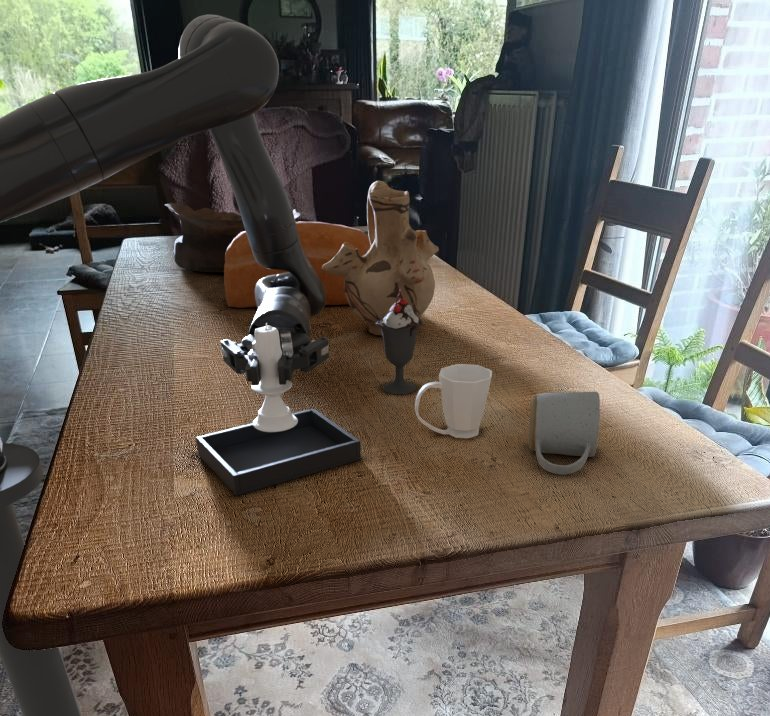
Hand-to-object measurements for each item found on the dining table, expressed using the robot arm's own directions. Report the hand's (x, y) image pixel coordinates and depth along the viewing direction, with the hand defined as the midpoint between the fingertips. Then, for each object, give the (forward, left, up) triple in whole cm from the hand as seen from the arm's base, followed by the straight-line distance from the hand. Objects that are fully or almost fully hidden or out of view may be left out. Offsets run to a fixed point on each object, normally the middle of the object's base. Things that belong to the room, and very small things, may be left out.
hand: (268, 376), depth 79 cm
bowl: (+40, +110, -12) cm, 117 cm away
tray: (+1, +3, -11) cm, 12 cm away
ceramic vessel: (+40, +39, -12) cm, 57 cm away
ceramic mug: (+30, -16, -12) cm, 36 cm away
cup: (+23, -3, -12) cm, 26 cm away
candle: (+1, +3, -7) cm, 8 cm away
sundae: (+26, +14, -12) cm, 32 cm away
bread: (+38, +69, -12) cm, 79 cm away
